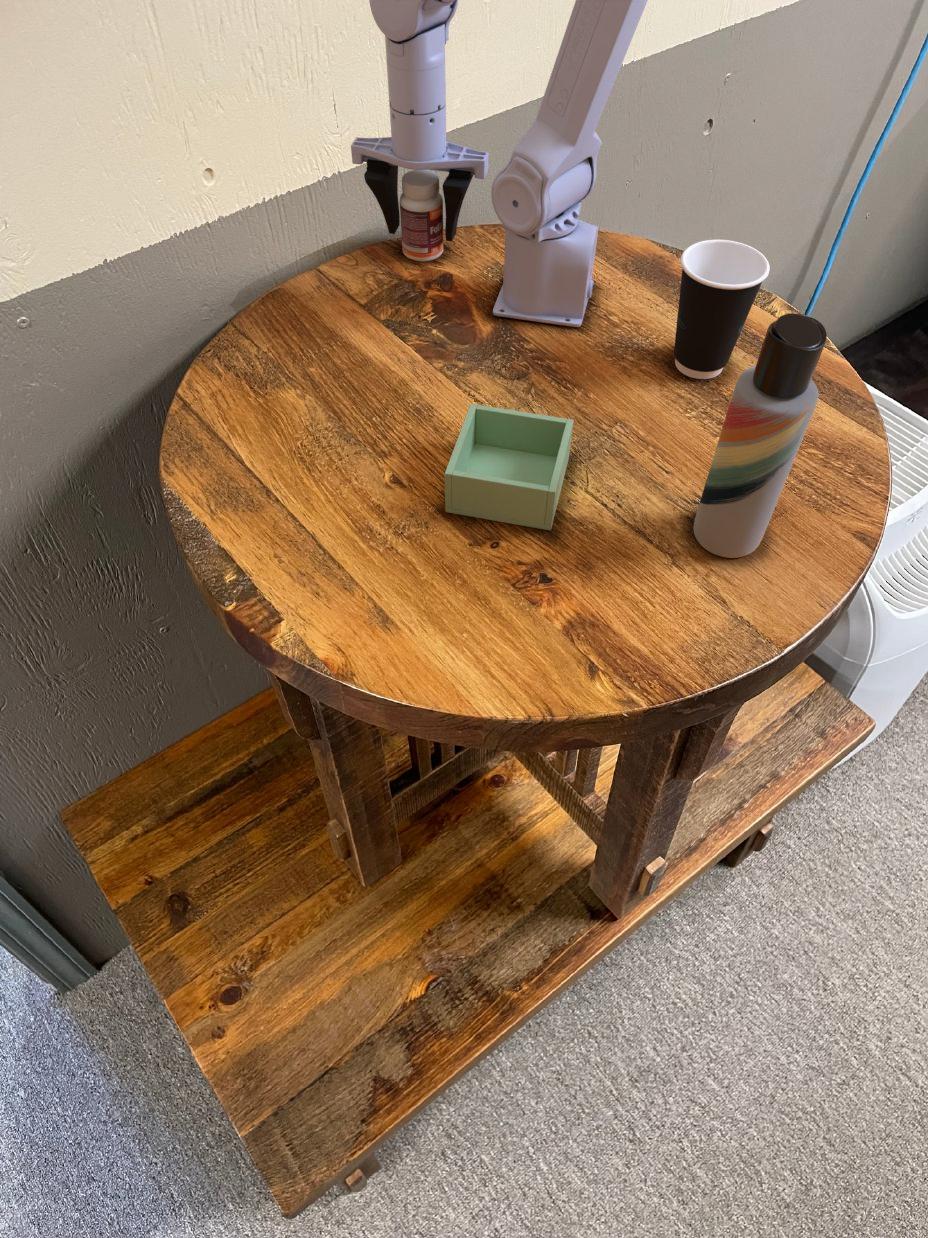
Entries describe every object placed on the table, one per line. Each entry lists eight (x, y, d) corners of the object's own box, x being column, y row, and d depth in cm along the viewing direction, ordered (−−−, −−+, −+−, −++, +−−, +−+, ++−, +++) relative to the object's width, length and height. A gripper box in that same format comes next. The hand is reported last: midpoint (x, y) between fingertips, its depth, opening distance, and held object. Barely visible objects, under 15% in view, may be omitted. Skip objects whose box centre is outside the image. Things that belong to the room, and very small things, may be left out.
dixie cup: (643, 352, 88) (663, 250, 79) (708, 333, 90) (734, 231, 81) (688, 397, 83) (714, 294, 75) (755, 375, 86) (788, 273, 77)
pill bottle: (438, 264, 98) (437, 190, 91) (398, 260, 98) (393, 185, 92) (447, 242, 101) (446, 169, 94) (408, 238, 101) (404, 165, 95)
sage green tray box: (568, 458, 78) (573, 419, 75) (550, 530, 73) (555, 492, 69) (470, 442, 80) (470, 403, 76) (445, 512, 74) (444, 473, 70)
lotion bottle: (722, 500, 75) (792, 291, 59) (774, 538, 72) (862, 329, 56) (677, 530, 73) (737, 321, 57) (729, 570, 70) (807, 363, 54)
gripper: (496, 93, 88) (492, 223, 99) (361, 79, 90) (371, 207, 101) (480, 123, 84) (478, 255, 95) (339, 108, 86) (353, 238, 97)
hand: (422, 233), depth 98 cm, fingers open, 6 cm apart
